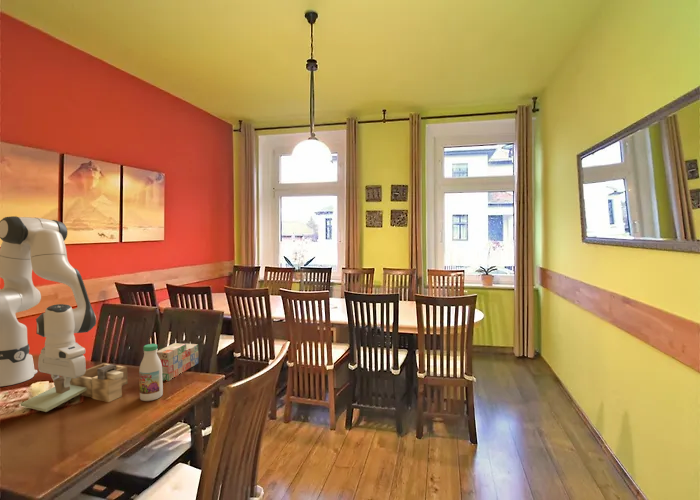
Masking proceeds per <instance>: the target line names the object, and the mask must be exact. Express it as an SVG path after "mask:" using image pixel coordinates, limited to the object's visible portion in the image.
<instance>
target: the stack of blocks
mask: <svg viewBox="0 0 700 500" xmlns="http://www.w3.org/2000/svg"><path fill="white" fill-rule="evenodd" d="M157 355H158V357H159V359H160V361H161V364H162V379H163V381H165V380H167V382H170V381H171V380H173V379H175V378H176V377H178V376H180V375H181V374H183V373H184V372H186V371H188V370H189V369H191V368H192V367H194V366H197V365H198V364H199V362H200V361H199V344H198V343H197V344H196V343H176V342H174V343H172V344H169V345H168V346H166V347H163V348H160V349H158V350H157ZM182 372H183V373H182ZM180 373H181V374H180ZM179 374H180V375H179ZM174 377H175V378H174ZM172 378H173V379H172Z"/></svg>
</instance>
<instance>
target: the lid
mask: <svg viewBox="0 0 700 500" xmlns="http://www.w3.org/2000/svg"><path fill="white" fill-rule="evenodd" d="M64 380H65V379H64V376H59V378H57V379H55V380H54V381H53V385H54V384H55V386H53V387H52V388H49V389H47V390H45V391H43V392H41V393H39V394H37V395H35V396H32V397H31V398H29V399H26V400H24V401H23V402H21V403H20V406H21V407H22V408H23V407H24V408H28V409H33V410H37V411H41V412H45V413H47V412H49V411H51V410H53V409H54V408H56V407H59V406H60V405H62V404H63V403H66V402H68V401H69V400H72V399H73V398H75V397H77V396H80V395H79V394H81V393H83V392H84V391H86V390H87V388H85V387H80V386H75V385H70V386H69V387H67V388H65V387H62V383H63V382H64Z"/></svg>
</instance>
